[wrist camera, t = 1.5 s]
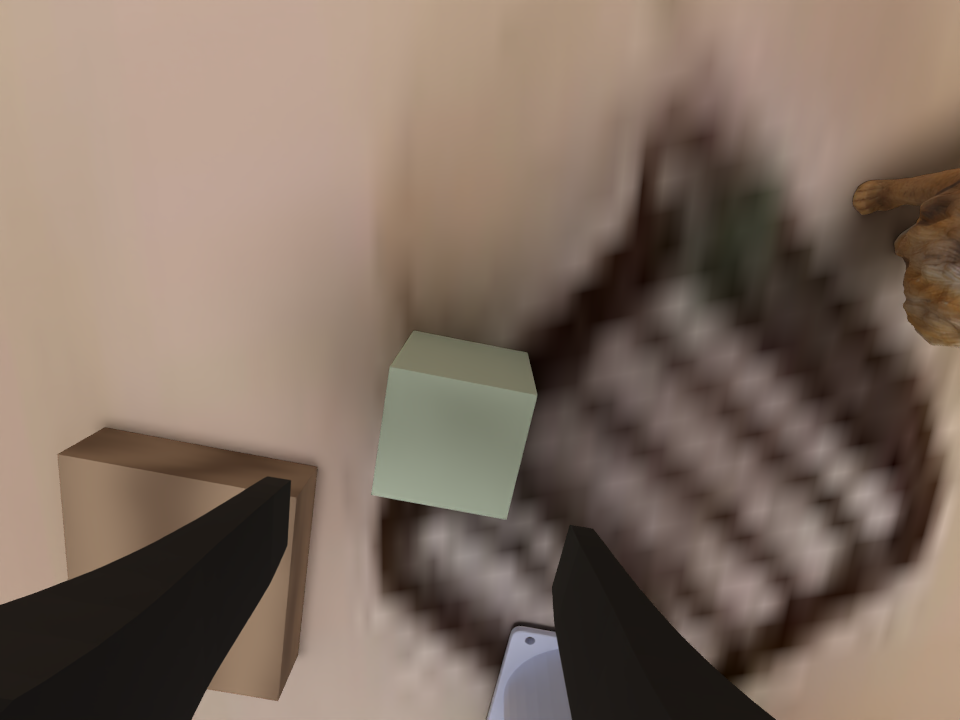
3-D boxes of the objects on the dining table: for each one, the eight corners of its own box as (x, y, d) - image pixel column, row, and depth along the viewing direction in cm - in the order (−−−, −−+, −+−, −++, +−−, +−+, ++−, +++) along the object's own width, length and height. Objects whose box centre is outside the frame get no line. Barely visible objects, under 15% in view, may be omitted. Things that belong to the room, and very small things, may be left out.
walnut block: (320, 461, 23) (296, 497, 20) (300, 648, 27) (277, 700, 24) (112, 423, 23) (57, 454, 20) (121, 617, 26) (75, 667, 23)
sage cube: (527, 351, 21) (537, 395, 16) (503, 452, 22) (506, 519, 17) (414, 329, 20) (389, 366, 16) (397, 432, 22) (371, 494, 17)
